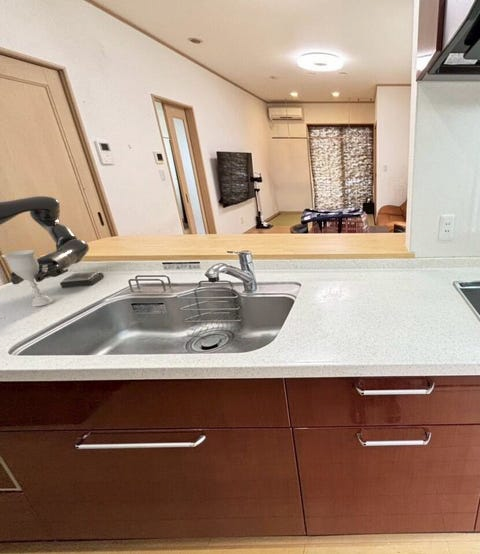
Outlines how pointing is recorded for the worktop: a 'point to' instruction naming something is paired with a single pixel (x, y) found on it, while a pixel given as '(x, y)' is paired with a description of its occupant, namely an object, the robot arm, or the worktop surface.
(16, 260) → the chalice
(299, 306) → the worktop surface
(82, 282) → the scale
